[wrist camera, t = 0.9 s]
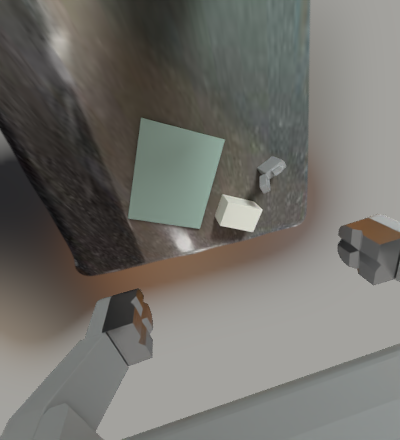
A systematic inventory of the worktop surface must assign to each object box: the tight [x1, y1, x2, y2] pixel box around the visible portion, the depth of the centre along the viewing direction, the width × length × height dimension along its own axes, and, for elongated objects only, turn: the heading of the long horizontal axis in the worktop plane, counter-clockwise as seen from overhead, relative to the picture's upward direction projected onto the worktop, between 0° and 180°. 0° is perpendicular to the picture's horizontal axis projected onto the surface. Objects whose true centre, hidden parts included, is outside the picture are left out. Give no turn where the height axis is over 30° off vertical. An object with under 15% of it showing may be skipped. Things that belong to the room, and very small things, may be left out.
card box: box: [215, 194, 262, 232], centre depth 49 cm, size 6×8×5 cm
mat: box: [128, 118, 225, 229], centre depth 45 cm, size 20×16×1 cm
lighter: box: [257, 156, 286, 193], centre depth 44 cm, size 7×2×8 cm, turn 129°
